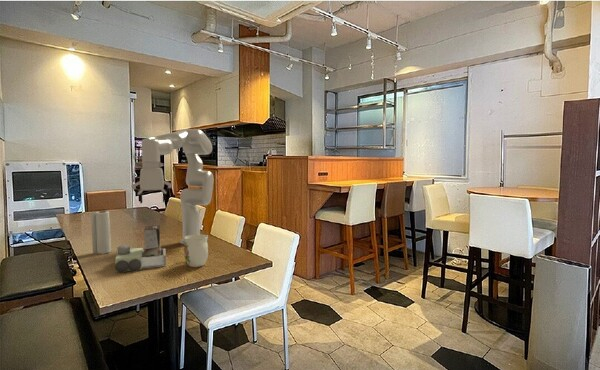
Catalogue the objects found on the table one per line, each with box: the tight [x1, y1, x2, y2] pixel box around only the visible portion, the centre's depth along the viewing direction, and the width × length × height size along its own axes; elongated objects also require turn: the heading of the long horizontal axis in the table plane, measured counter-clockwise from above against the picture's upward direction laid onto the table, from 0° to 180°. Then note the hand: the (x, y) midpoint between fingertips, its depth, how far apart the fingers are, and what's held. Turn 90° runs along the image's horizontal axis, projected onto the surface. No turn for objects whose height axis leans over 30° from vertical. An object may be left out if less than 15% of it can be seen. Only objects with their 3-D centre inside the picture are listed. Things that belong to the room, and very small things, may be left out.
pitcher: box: [183, 233, 209, 268], centre depth 155 cm, size 11×18×14 cm, turn 36°
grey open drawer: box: [141, 247, 167, 270], centre depth 156 cm, size 10×13×5 cm
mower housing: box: [114, 244, 144, 274], centre depth 152 cm, size 10×18×9 cm, turn 22°
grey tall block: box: [90, 210, 112, 255], centre depth 172 cm, size 7×6×21 cm
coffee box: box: [143, 225, 161, 257], centre depth 155 cm, size 9×6×16 cm
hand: (152, 202), depth 155 cm, fingers open, 9 cm apart
